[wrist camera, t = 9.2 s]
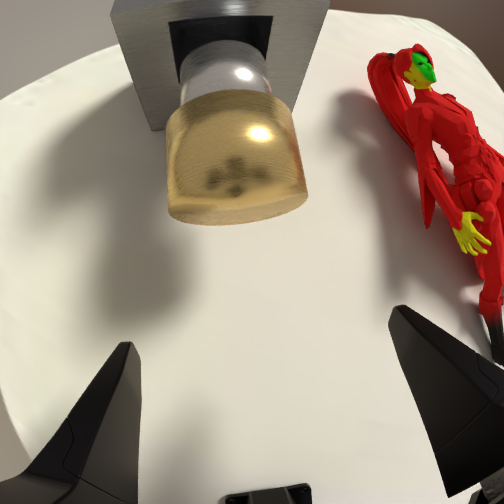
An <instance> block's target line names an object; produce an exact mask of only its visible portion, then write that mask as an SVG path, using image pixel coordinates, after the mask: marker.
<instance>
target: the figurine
mask: <svg viewBox="0 0 504 504" xmlns="http://www.w3.org/2000/svg"><path fill="white" fill-rule="evenodd" d="M433 69H434V66H433V62H432V58H431V56H430V55H429V53H428V52H427V51H426V49H425V48H424V47H423V46H422V45H420V44H415V45H414V46H413V47H412V48H407V49H401V50H400V51H399V52H397V53H396V54H393V53H384V52H383V53H378V54H376V55H375V56H374V57H373V58H372V59H371V60H370V61H369V64H368V67H367V72H368V79H369V82H370V85H371V88H372V90H373V92H374V95H375V97H376V100H377V101H378V103H379V105H380V107H381V109H382V110H383V112H384V113H385V115H386V116H387V118H388V120H389V121H390V123H391V124H392V126H393V127H394V128H395V130H396V131H397V132H398V133H399V134H400V136H401V137H402V138H403V139H404V140H405V141H406V143H407V144H408V145H409V146H410V147H411V149H412V150H413V151H414V152H415V156H416V161H417V167H418V181H419V188H420V195H421V203H422V211H423V218H424V223H425V226H426V229H427V228H429V227H430V223H431V220H432V216H433V212H434V207H435V201H437V202H438V204H439V206H440V207H441V209H442V211H443V212H444V214H445V216H446V217H447V219H448V221H449V224H450V226H451V227H452V229H453V231H454V234H455V236H456V238H457V241H458V243H459V245H460V247H461V250H462V251H463V252H464V253H466V254H467V251H466V249H467V250H468V252H470V253H471V254H472V255H474V258H475V263H476V267H477V272H478V274H479V276H480V278H482V279H483V280H484V281H485V282H484V287H483V290H482V291H481V293H480V294H479V313H480V314H482V315H483V317H484V320H485V322H486V324H487V327H488V331H489V335H490V339H491V349H492V357H493V359H494V361H495V362H496V363H498V364H499V365H500V366H501V365H502V366H503V367H504V332H503V323H502V310H501V305H503V296H502V294H501V293H502V289H503V285H504V157H503V156H502V155H501V154H500V153H498V152H497V151H496V150H494V149H493V148H492V147H490V146H489V145H488V144H487V143H486V141H485V139H482V138H481V136H480V134H479V131H478V127H477V126H476V125H475V121H474V118H473V114H472V111H470V110H469V109H467V108H466V107H464V106H462V105H461V104H459V103H458V102H457V101H456V98H455V97H454V96H453V95H451V94H448V93H447V94H439V93H437V92H435V91H434V90H433V89H432V88H431V86H430V85H431V84H432V83H435V82H436V77H435V74H434V71H433ZM402 79H403V80H404V81H405V82H406V83H408V84H411V85H413V86H414V87H415V88H414V93H415V97H416V98H415V100H414V102H413V104H412V102H411V99H410V97H409V94H408V92H407V90H406V87H405V85H404V83H403V80H402ZM432 140H433V141H435V142H436V143H438V144H440V145H441V148H442V149H444V150H445V151H446V152H447V153H448V154H449V161H450V162H451V163H452V164H453V165H454V176H455V184H448V182H447V180H446V178H445V176H444V174H443V172H442V170H443V169H442V167H441V165H440V163H439V161H438V158H437V156H436V154H435V152H434V150H433V147H432ZM469 242H470V243H471V244H472V246H473V249H472V247H471V245H470V243H469ZM464 245H465V247H466V249H465V247H464Z"/></svg>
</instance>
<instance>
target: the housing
mask: <svg viewBox="0 0 504 504" xmlns="http://www.w3.org/2000/svg"><path fill="white" fill-rule="evenodd" d="M329 5H330V1H329V0H115V1H114V4H113V7H112V10H111V13H110V17H111V20H112V23H113V26H114V29H115V32H116V35H117V38H118V41H119V44H120V47H121V50H122V52H123V55H124V58H125V61H126V64H127V67H128V69H129V72H130V75H131V78H132V80H133V83H134V86H135V89H136V91H137V94H138V97H139V99H140V102H141V105H142V107H143V110H144V112H145V115H146V118H147V120H148V123H149V125H150V128H151V130H152V131H154V130H161V129H166V126H167V122H168V120H169V118H170V117H171V115H172V114H173V113H174V112H175V111H176V110H177V109H178V108H179V107H180V68H181V64H182V62H183V60H184V59H185V58H186V56H187V55H188V54H189V53H190V52H192V51H193V50H194V49H196V48H198V47H200V46H202V45H204V44H207V43H210V42H215V41H221V40H233V41H239V42H243V43H247V44H249V45H251V46H253V47H254V48H256V49H257V50H258V51H259V52H260V53H261V54H262V56H263V57H264V60H265V64H266V68H267V73H268V77H269V82H270V86H271V91H272V96H274V97H276V98H278V99H280V100H281V101H282V102H284V103H285V104H286V105H287V107H288V108H289V110H290V111H291V114H292V111H293V108H294V105H295V103H296V100H297V97H298V94H299V91H300V88H301V85H302V82H303V79H304V77H305V74H306V71H307V68H308V65H309V62H310V59H311V56H312V53H313V51H314V48H315V45H316V42H317V39H318V36H319V33H320V31H321V28H322V25H323V22H324V19H325V16H326V14H327V11H328V8H329Z"/></svg>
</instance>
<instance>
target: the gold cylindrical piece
mask: <svg viewBox="0 0 504 504" xmlns="http://www.w3.org/2000/svg"><path fill="white" fill-rule="evenodd" d="M166 165H167V194H168V212H169V214H170V216H171V217H173V218H174V219H176V220H178V221H181V222H184V223H189V224H195V225H213V226H215V225H234V224H243V223H250V222H256V221H261V220H265V219H269V218H273V217H276V216H280V215H282V214H285V213H288V212H290V211H292V210H294V209H296V208H298V207H299V206H301V205H302V204H303V203H304V202H305V201H306V200H307V198H308V191H307V186H306V181H305V176H304V170H303V165H302V161H301V156H300V151H299V146H298V141H297V137H296V132H295V128H294V123H293V119H292V115H291V111H290V110H289V108H288V107H287V105H286V104H285V103H284V102H282V101H281V100H280V99H278V98H276V97H274V96H272V91H271V86H270V82H269V77H268V73H267V68H266V64H265V60H264V57H263V56H262V54H261V53H260V52H259V51H258V50H257V49H256V48H254V47H253V46H251V45H249V44H247V43H243V42H239V41H233V40H221V41H215V42H210V43H207V44H204V45H202V46H200V47H198V48H196V49H194V50H193V51H192V52H190V53H189V54H188V55H187V56H186V58H185V59H184V60H183V62H182V64H181V68H180V107H179V108H178V109H177V110H176V111H175V112H174V113H173V114H172V115H171V117H170V118H169V120H168V122H167V126H166Z"/></svg>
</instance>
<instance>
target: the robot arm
mask: <svg viewBox="0 0 504 504" xmlns="http://www.w3.org/2000/svg"><path fill="white" fill-rule="evenodd" d="M388 328H389V331H390V334H391V337H392V340H393V343H394V347H395V350H396V353H397V356H398V359H399V362H400V365H401V368H402V370H403V372H404V375H405V377H406V380H407V382H408V384H409V387H410V389H411V392H412V394H413V397H414V399H415V402H416V405H417V407H418V410H419V412H420V415H421V418H422V420H423V423H424V426H425V429H426V431H427V434H428V437H429V440H430V443H431V446H432V449H433V452H434V454H435V458H436V461H437V464H438V467H439V470H440V474H441V477H442V480H443V483H444V487H445V490H446V494H447V496H448V498H450V497H452V496H454V495H456V494H458V493H460V492H462V491H464V490H466V489H468V488H470V487H471V486H473V485H475V484H477V483H479V482H480V484H481V487H482V488H481V489H479V490H478V491H476V492H474V493H473V494H472V495H471V498H470V501H469V503H468V504H504V370H503V369H501V368H500V367H498V366H496V365H495V364H493V363H492V362H490V361H489V360H487V359H486V358H484V357H483V356H481V355H480V354H478V353H476V352H475V351H474V350H472V349H471V348H469V347H468V346H467V345H465V344H464V343H462V342H461V341H459V340H458V339H456V338H455V337H453V336H452V335H450V334H449V333H447V332H446V331H444V330H443V329H441V328H440V327H438V326H437V325H435V324H434V323H432V322H431V321H429V320H428V319H426V318H425V317H423V316H422V315H420V314H419V313H417V312H416V311H414V310H412V309H411V308H409V307H408V306H406V305H398V306H395V307H394V308H393V310H392V313H391V316H390V319H389V322H388ZM141 404H142V396H141V360H140V356H139V354H138V352H137V350H136V348H135V346H134V344H133V343H132V342H130V341H129V342H120V343H119V344H118V346H117V347H116V348H115V350H114V351H113V352H112V354H111V355H110V357H109V358H108V359H107V361H106V362H105V363H104V365H103V366H102V367H101V369H100V370H99V372H98V373H97V374H96V376H95V377H94V379H93V380H92V381H91V383H90V384H89V386H88V387H87V388H86V390H85V391H84V393H83V394H82V395H81V397H80V398H79V400H78V401H77V403H76V404H75V406H74V407H73V408H72V410H71V411H70V413H69V414H68V416H67V417H68V418H66V419H65V420H64V421H63V423H62V424H61V426H60V427H59V429H58V430H57V431H56V433H55V434H54V436H53V437H52V438H51V439H50V441H49V442H48V443H47V444H46V446H45V447H44V448H43V449H42V451H41V452H40V453H39V454H38V455H37V457H36V458H35V459H34V460H33V461H32V463H31V464H30V465H29V466H28V467H27V468H26V470H24V471H23V472H22V473H21V474H19V475H17V476H16V477H13V478H10V479H8V480H5V481H2V482H0V504H138V458H139V435H140V419H141ZM304 488H306V489H305V490H302V489H304ZM231 499H233V500H234V501H229V500H231ZM225 503H226V504H312V495H311V488H310V486H309V484H307V483H303V484H298V485H293V486H288V487H280V488H274V489H268V490H261V491H254V492H249V493H240V494H230V495H227V496H226V497H225Z"/></svg>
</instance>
